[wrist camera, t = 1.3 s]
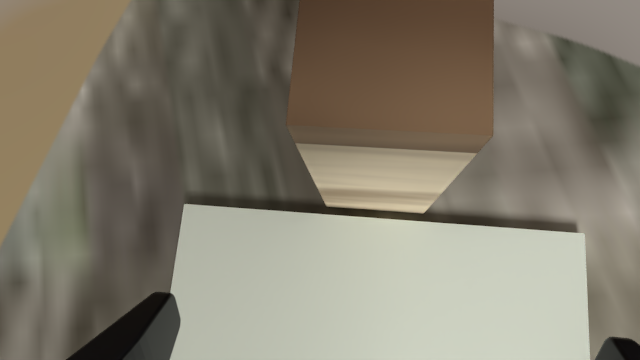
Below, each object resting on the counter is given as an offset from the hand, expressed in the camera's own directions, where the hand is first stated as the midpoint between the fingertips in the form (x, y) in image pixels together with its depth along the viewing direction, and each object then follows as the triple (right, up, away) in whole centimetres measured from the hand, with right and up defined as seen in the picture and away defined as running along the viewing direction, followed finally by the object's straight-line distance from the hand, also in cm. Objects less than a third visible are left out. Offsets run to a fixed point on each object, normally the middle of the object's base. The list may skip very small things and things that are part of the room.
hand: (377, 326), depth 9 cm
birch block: (+2, +4, +14) cm, 15 cm away
